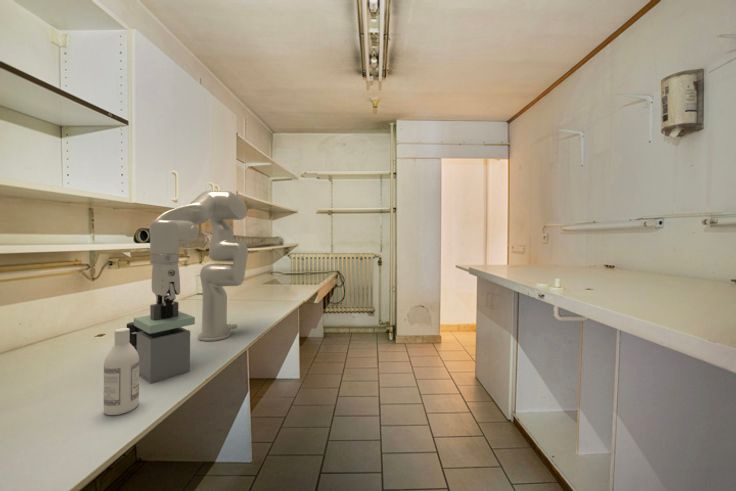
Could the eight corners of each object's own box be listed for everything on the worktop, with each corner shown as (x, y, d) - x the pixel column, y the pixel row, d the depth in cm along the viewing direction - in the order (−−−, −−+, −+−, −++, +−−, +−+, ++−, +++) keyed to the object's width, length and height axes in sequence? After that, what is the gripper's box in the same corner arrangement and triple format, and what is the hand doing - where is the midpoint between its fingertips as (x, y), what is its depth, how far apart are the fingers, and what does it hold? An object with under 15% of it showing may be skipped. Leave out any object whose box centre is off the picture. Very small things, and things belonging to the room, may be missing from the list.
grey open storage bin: (174, 362, 106) (175, 324, 106) (189, 371, 100) (190, 331, 100) (136, 373, 98) (136, 332, 97) (150, 383, 91) (150, 339, 91)
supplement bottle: (133, 361, 107) (133, 326, 107) (117, 359, 108) (117, 324, 108) (150, 353, 114) (151, 321, 113) (135, 352, 115) (135, 319, 115)
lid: (177, 317, 108) (177, 297, 107) (194, 324, 100) (194, 303, 100) (133, 325, 97) (133, 303, 97) (149, 333, 90) (149, 310, 90)
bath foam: (134, 398, 83) (135, 323, 82) (142, 408, 78) (143, 329, 78) (100, 408, 77) (101, 329, 77) (106, 419, 73) (107, 335, 73)
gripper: (189, 260, 96) (189, 319, 97) (167, 257, 106) (167, 310, 107) (162, 261, 90) (162, 324, 91) (141, 258, 100) (141, 314, 101)
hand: (164, 316), depth 99 cm, fingers closed on lid, 2 cm apart
